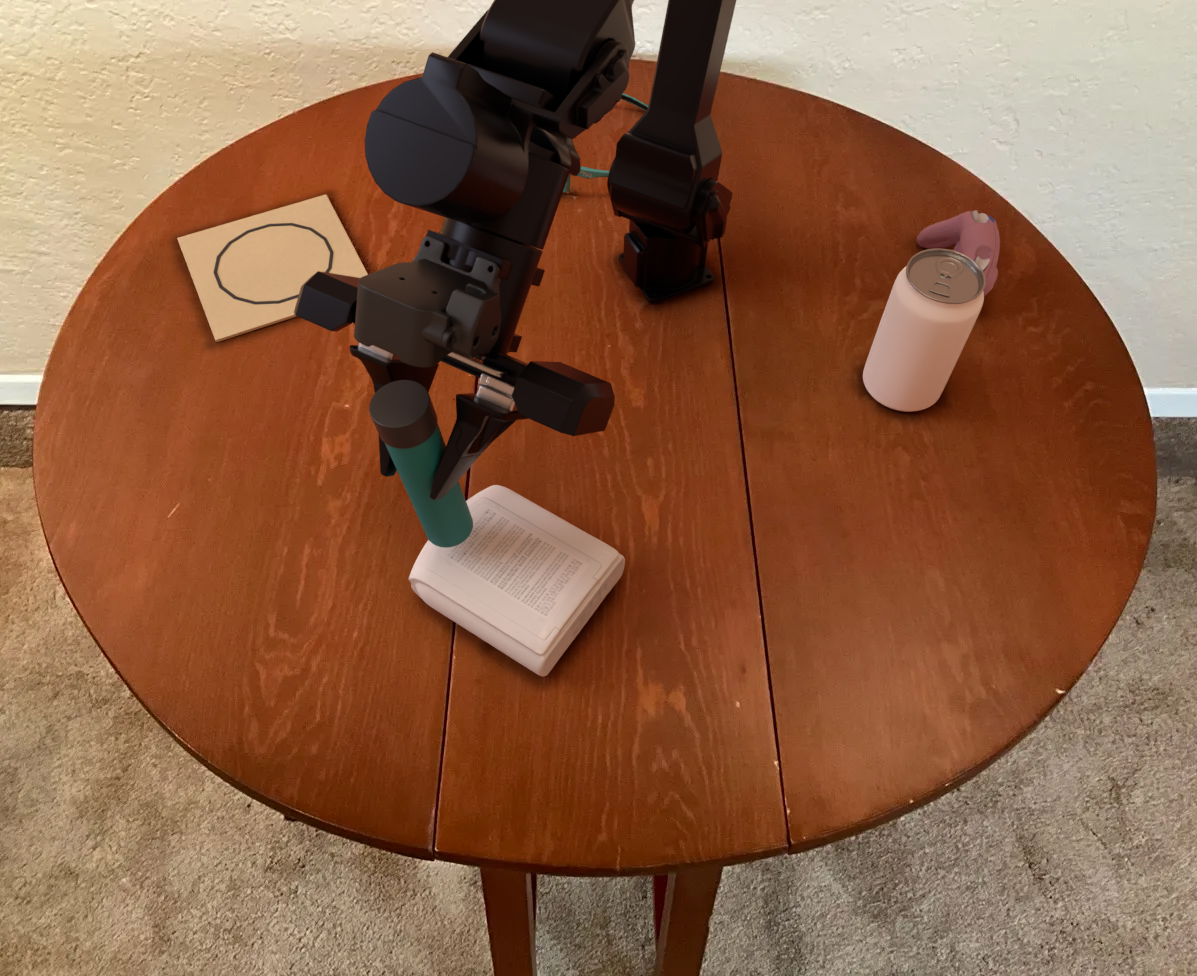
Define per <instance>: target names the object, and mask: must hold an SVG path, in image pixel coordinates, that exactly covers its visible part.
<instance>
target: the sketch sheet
mask: <svg viewBox="0 0 1197 976" xmlns="http://www.w3.org/2000/svg"><path fill="white" fill-rule="evenodd" d="M176 239H177V242H178V245H179V247H180V249H181V252H182V255H183V258H184V260H185V263H186V266H187V269H188V271H189V274H190V276H191V279H192V282H193V284H194V287H195V291H196V292H197V294H198V298H199V301H200V304H201V306H202V309H203V312H204V314H205V316H206V319H207V322H208V324H209V327H210V330H211V333H212V335H213V338H214V340H215V343H219V342H222V341H226V340H229V339H232V338H235V337H238V336H242V335H243V334H246V333H250V332H254V331H257V330H259V329H262V328H265V327H269V326H272V325H274V324H278V323H281V322H284V321H287V320H290V319H293V318H296V317H297V316H296V315H295V314H294V310H295V306H296V303H297V299H298V296H299V292H300V289H301V286H302V285H303V284H304V283H305V282H306V281H307V280H308V279H309V278H310V277H311V276H313V275H314V274H315V273H316V272H318V271H320V272H326V273H333V274H339V275H345V276H351V277H357V278H361V277H363V276H366V275H368V274H369V273H368V271H367V270H366V268H365V266H364V264H363V262H362V260H361V258H360V256H359V254H358V252H357V250H356V249H355V247H354V244H353V243H352V241H351V238H350V237H349V235H348V233H347V231H346V230H345V227H344V225H343V224H342V222H341V220H340V218H339V216H338V214H337V212H336V209H335V208H334V206H333V205H332V202H331V200H330V198H329V196H328V195H327V193H326V194H322V195H319V196H315V197H312V198H308V199H305V200H302V201H298V202H295V203H291V204H288V205H285V206H281V207H277V208H275V209H271V210H267V211H264V212H261V213H257V214H254V215H250V216H247V217H244V218H241V219H237V220H233V221H230V222H227V223H223V224H220V225H217V226H213V227H210V228H207V229H202V230H199V231H196V232H192V233H188V234H186V235H183V236H179V237H177V238H176Z"/></svg>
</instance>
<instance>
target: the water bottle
mask: <svg viewBox="0 0 1197 976" xmlns="http://www.w3.org/2000/svg"><path fill="white" fill-rule="evenodd" d="M368 413H369V415H370V418H371V421H372V423H373V425H374V427H375V429H376V431H377V433H378V434H377V435H378V437H379V436H380V438H381V439H382V441H383V442H384V443H385V445H386V447H387V449H388V451H389V454H390V456H391V458H392V460H393V463H394V465H395V467H396V469H397V471H396V472H397V474H398V477H399V478H400V480H401V483H402V484H403V485H402V486H403V487H404V489H405V491H406V494H407V496H408V498H409V501H410V502H411V505H412V507H413V509H414V511H415V513H416V516H417V518H418V521H419V522H420V525H421V527H422V529H423V532H424V534H425V536H426V538H427V541H428V540H429V541H430V542H431V543H433V544H434V545H436V546H439V547H444V548H448V547H454V546H457V545H459V544H461V543H462V542H464V541H465V540H466V539H467V538H468V537H469V535H470V534H471V532H472V529H473V519H472V516H471V514H470V511H469V508H468V505H467V503H466V501H467V500H466V498H465V494H464V491H463V489H462V485H461V484H460V481H459V480H458V481H457V483H456V484H455V485H454V486H453V487H452V488H451V489H450V491H449V492H448V493H447V494H446V495H445V496H444V497H443V498H442V499H439V500H433V499H431V498H430V492H431V488H432V484H433V480H434V476H435V473H436V471H437V468H438V466H439V463H440V460H441V458H442V455H443V453H444V450H445V448H446V445H447V444H446V442H445V439H444V437H443V433H442V431H441V428H440V426H439V423H438V415H437V412H436V409H435V407H434V403H433V401H432V398H431V396H430V392H429V393H428V391H427V389H426V388H425V387H424V386H423V385H421V384H420V383H418V382H415V381H411V380H398V381H394V382H391V383H388V384H386V385H384V386H383V387H381V388H380V389H379V390H378V391H377V392H376V393H375V392H374V394H373V395H372V397H371V399H370V401H369V406H368Z"/></svg>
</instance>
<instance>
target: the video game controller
mask: <svg viewBox="0 0 1197 976" xmlns="http://www.w3.org/2000/svg"><path fill="white" fill-rule="evenodd" d="M916 243H917V244H918V246H919V247H921V248H923V249H926V250H927V249H935V248H941V249H947V248H953V249H952V250H953V251H957V252H959V253H962V254H964V255H966V256H968V257H969V258H971V259H972V260H973V261H975V262H976V263H977V264H978V265H979V266H980V268H981V269H982V271H983V273H984V275H985V280H986V283H985V288H984V290H983V292H984V297H986V296H987V295H988V294H989V293H990V292H991V290H992V289H994V285H995V284H996V282H997V279H998V276H999V269H998V267H997V265H998V261H999V256H1000V250H1001V249H1000V247H1001V237H1000V232H999V228H998V223H997V221H996V220H995V219H994V217H992V216H990V215H988V214H986V213H984V212H978V210H977V209H975V210H972V211H971V210H967V211H964V212H961V213H960V214H957V215H956V216H953V217H950V218H948V219H944V220H941V221H938V222H935V223H933V224H930V225H927V226H926V227H925V228H923V229H922V230H920V232H919V233H918V235H917V237H916Z"/></svg>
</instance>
